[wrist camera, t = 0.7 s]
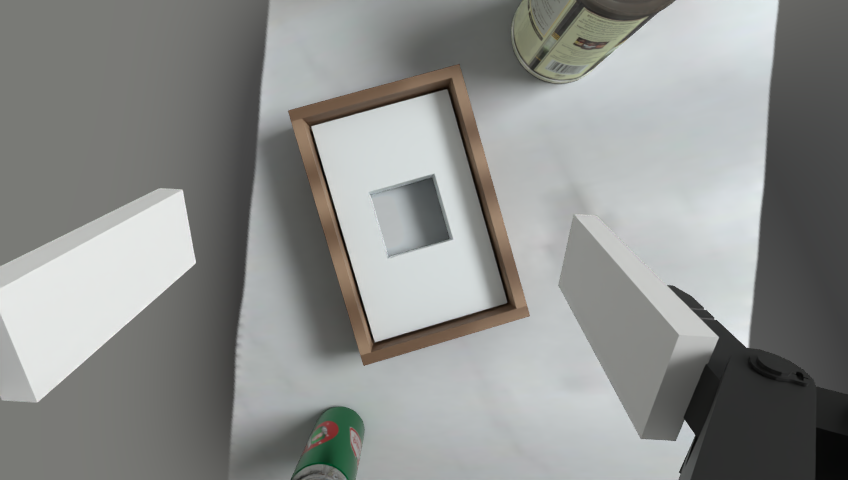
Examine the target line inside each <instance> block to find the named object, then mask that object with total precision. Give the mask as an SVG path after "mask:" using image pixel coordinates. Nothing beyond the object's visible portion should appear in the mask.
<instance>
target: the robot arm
mask: <svg viewBox="0 0 848 480" xmlns="http://www.w3.org/2000/svg"><path fill="white" fill-rule="evenodd" d="M195 263H196V261H195V256H194V251H193V245H192V239H191V234H190V228H189V223H188V217H187V212H186V206H185V201H184V195H183V190H179V189H164V188H159V189H157V190H155V191H153V192H151V193H149V194H147V195H145V196H143V197H141V198H139V199H137V200H135V201H133V202H131V203H129V204H127V205H125V206H122V207H121V208H118V209H117V210H114V211H112V212H110V213H108V214H106V215H104V216H102V217H100V218H98V219H96V220H94V221H92V222H90V223H88V224H86V225H84V226H82V227H80V228H78V229H76V230H74V231H72V232H69V233H67V234H66V235H63V236H62V237H59V238H57V239H55V240H53V241H51V242H49V243H47V244H45V245H43V246H41V247H39V248H37V249H35V250H33V251H31V252H29V253H27V254H25V255H23V256H21V257H18V258H16V259H14V260H12V261H10V262H8V263H6V264H4V265H2V266H0V397H1V399H2V400H6V401H22V402H39V401H40V400H41V399H42V398H43V397H44V396H45V395H46V394H47V393H49V392H50V391H51V390H52V389H53V388H54V387H55V386H57V385H58V384H59V383H60V382H61V381H62V380H63V379H65V378H66V377H67V376H68V375H69V374H70V373H71V372H73V371H74V370H75V369H76V368H77V367H78V366H79V365H80V364H82V363H83V362H84V361H85V360H86V359H87V358H89V356H91V355H92V354H93V353H94V352H95V351H96V350H97V349H99V348H100V347H101V346H102V345H103V344H104V343H105V342H107V341H108V340H109V339H110V338H111V337H112V336H114V335H115V334H116V333H117V332H118V331H119V330H120V329H121V328H123V327H124V326H125V325H126V324H127V323H128V322H129V321H130V320H132V319H133V318H134V317H135V316H136V315H137V314H139V312H141V311H142V310H143V309H144V308H145V307H146V306H148V305H149V304H150V303H151V302H152V301H153V300H154V299H156V298H157V297H158V296H159V295H160V294H161V293H162V292H164V291H165V290H166V289H167V288H168V287H169V286H170V285H171V284H173V283H174V282H175V281H176V280H177V279H178V278H179V277H181V276H182V275H183V274H184V273H185V272H186V271H187V270H188V269H190V268H191V267H192V266H193V265H194V264H195ZM558 286H559V288H560V289H561V291H562V293H563V295H564V297H565V299H566V301H567V302H568V304H569V306H570V308H571V310H572V312H573V314H574V316H575V317H576V319H577V321H578V323H579V325H580V327H581V329H582V330H583V332H584V334H585V336H586V338H587V340H588V342H589V343H590V345H591V347H592V349H593V351H594V353H595V355H596V356H597V358H598V360H599V362H600V364H601V366H602V368H603V369H604V371H605V373H606V375H607V377H608V379H609V381H610V382H611V384H612V386H613V388H614V390H615V392H616V394H617V396H618V397H619V399H620V401H621V403H622V405H623V407H624V409H625V410H626V412H627V414H628V416H629V418H630V420H631V422H632V423H633V425H634V427H635V429H636V431H637V433H638V435H639V436H640V438H641V439H653V440H670V441H676V439H677V437H678V434H679V432H680V429H681V427H682V425H683V422H684V420H685V421H686V422H687V423H688V425H689V426H690V428H691V429H692V431H693V432H694V434H695V437H694V440H693V442H692V444H691V446H690V449H689V451H688V453H687V456H686V458H685V460H684V462H683V465H682V467H681V469H680V471H679V473H681V474H680V477H679V480H848V394H843V393H839V392H836V391H832V390H828V389H824V388H820V387H816V385H815V382H814V380H813V379H812V378H811V377H810V376H809V375H808V374H807V373H806V372H805V371H804V370H803V369H801V368H800V367H798V366H797V365H795V364H794V363H792V362H791V361H789V360H786V359H784V358H782V357H780V356H777V355H775V354H772V353H769V352H765V351H762V350H758V349H751V348H746V347H745V346H744V345H743V344H742V343H741V342H740V341H739V340H737V339H736V338H735V337H734V336H733V335H732V334H731V333H730V332H729V331H728V330H727V329H726V328H725V327H724V326H723V325H722V324H720V323H719V322H718V321H717V320H714V317H713V316H712V315H711V314H710V313H709V312H708V311H707V310H704V308H703V307H702V306H701V305H700V304H699V303H698V302H697V301H696V300H695V299H694V298H693V297H692V296H690V295H689V294H687V293H685V292H683V291H682V290H680V289H678V288H676V287H675V286H671V285H666V284H665V283H664V282H663V281H662V280H661V279H660V278H659V277H658V276H657V275H656V274H655V273H654V272H653V271H652V270H651V269H650V268H649V267H648V266H647V265H646V264H645V263H644V262H643V261H642V260H641V259H640V258H639V257H638V256H637V255H636V254H635V253H634V252H633V251H632V250H631V249H630V248H629V247H628V246H627V245H626V244H625V243H624V242H623V241H622V240H621V239H620V238H619V237H618V236H617V235H616V234H615V233H614V232H613V231H612V230H611V229H610V228H609V227H608V226H607V225H606V224H605V223H604V222H603V221H602V220H601V219H600V218H599V217H597V216H596V215H581V214H574V215H573V220H572V224H571V229H570V234H569V238H568V243H567V248H566V252H565V257H564V261H563V266H562V271H561V275H560V280H559V285H558Z"/></svg>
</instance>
